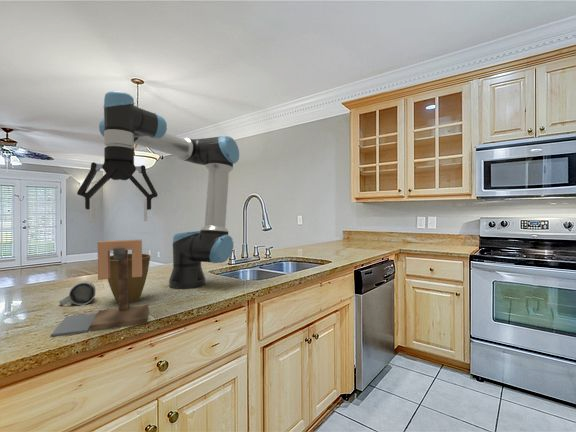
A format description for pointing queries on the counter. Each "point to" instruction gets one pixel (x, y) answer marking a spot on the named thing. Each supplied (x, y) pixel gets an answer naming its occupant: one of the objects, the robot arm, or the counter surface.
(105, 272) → the orange notched block
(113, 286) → the plant pot
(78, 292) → the ceramic mug
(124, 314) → the hook stand
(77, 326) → the mat
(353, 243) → the counter surface
